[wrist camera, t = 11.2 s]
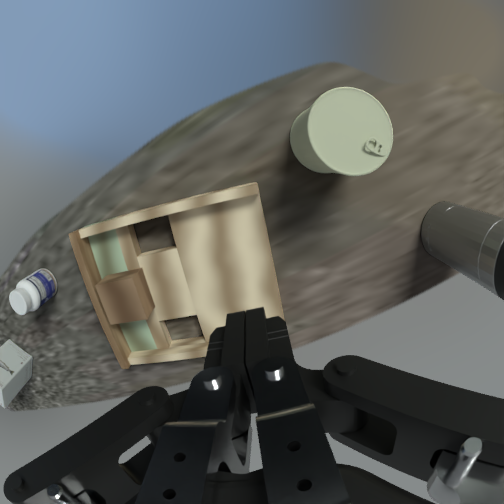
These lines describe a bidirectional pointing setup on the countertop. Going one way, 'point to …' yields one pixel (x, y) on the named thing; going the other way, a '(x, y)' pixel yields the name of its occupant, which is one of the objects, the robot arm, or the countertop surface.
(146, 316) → the block
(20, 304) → the pill bottle
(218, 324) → the board
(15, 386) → the supplement box
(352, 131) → the can
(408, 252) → the countertop surface
